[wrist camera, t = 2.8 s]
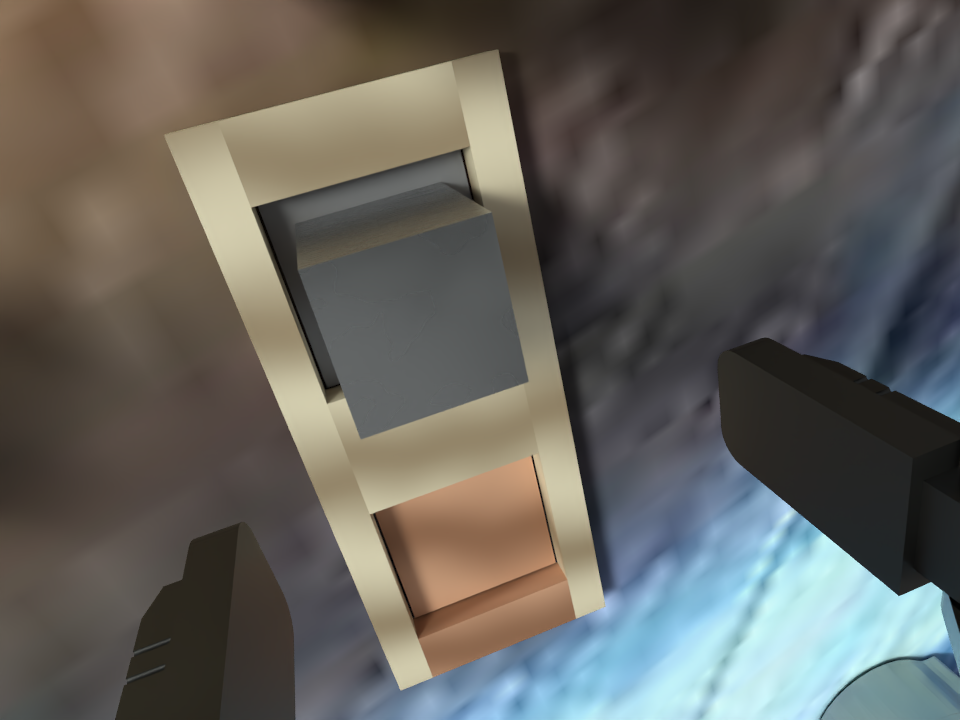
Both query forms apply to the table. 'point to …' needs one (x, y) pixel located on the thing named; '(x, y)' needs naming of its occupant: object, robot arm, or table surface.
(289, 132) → the beige flat rectangular frame
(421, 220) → the grey block
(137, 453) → the table surface
